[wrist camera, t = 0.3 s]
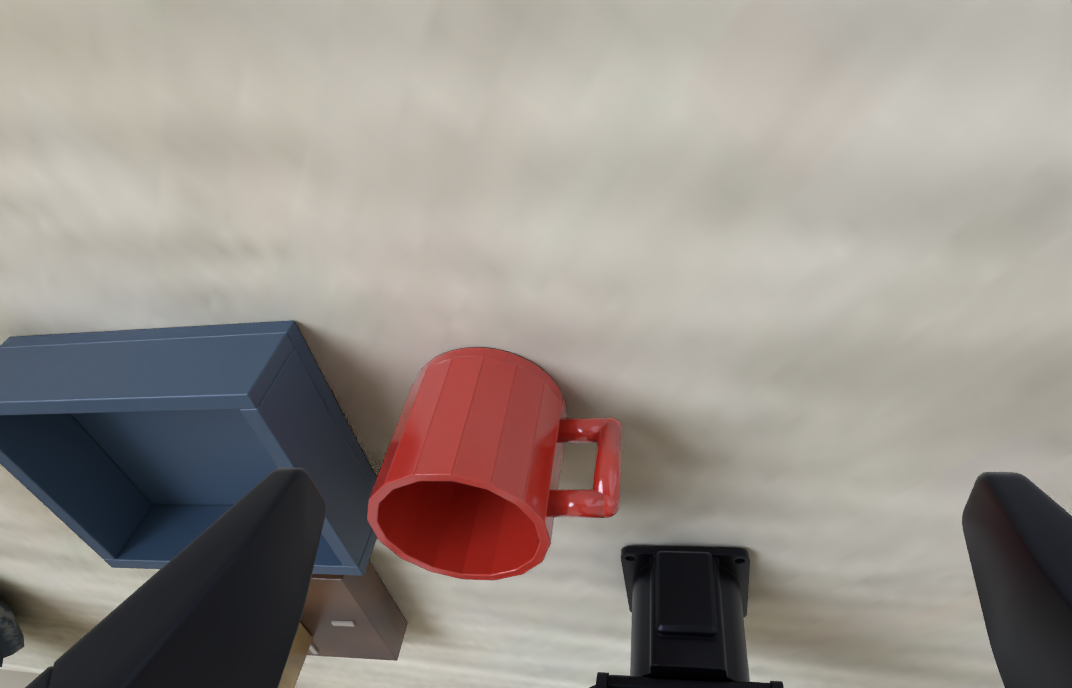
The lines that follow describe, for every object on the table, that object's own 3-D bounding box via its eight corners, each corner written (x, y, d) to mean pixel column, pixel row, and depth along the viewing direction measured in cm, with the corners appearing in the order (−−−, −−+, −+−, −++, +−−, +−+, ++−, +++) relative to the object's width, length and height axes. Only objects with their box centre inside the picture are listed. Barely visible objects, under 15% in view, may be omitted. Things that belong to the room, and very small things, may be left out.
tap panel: (408, 623, 45) (396, 663, 43) (263, 616, 48) (246, 654, 46) (356, 540, 39) (341, 582, 37) (192, 536, 41) (169, 576, 39)
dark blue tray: (389, 502, 36) (364, 576, 33) (156, 500, 39) (111, 567, 36) (294, 320, 28) (247, 394, 25) (9, 336, 31) (-65, 404, 28)
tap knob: (313, 638, 43) (286, 709, 39) (293, 636, 43) (265, 707, 40) (284, 602, 40) (252, 675, 37) (263, 601, 40) (230, 674, 37)
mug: (437, 454, 32) (399, 577, 28) (394, 350, 28) (340, 474, 23) (630, 452, 30) (626, 585, 26) (616, 339, 26) (607, 474, 21)
